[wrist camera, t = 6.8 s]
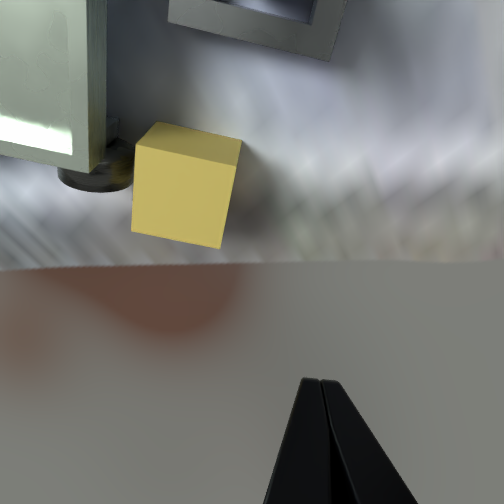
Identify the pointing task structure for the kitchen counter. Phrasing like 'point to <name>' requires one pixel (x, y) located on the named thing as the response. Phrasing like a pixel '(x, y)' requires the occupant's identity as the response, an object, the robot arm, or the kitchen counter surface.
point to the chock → (183, 184)
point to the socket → (264, 25)
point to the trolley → (60, 92)
